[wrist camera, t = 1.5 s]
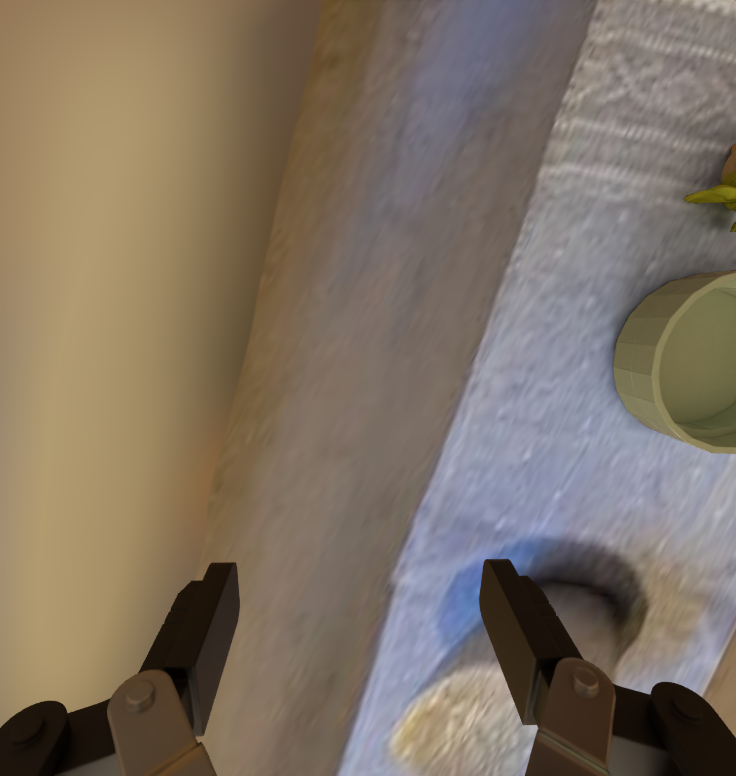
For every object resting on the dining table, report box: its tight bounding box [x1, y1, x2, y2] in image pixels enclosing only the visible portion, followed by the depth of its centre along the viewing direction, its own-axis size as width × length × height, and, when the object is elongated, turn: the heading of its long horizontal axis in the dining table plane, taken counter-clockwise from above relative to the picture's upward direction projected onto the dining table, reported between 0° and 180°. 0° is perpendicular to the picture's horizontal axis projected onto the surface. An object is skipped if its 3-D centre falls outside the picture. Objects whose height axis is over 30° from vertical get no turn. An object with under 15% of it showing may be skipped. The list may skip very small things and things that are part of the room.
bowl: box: [613, 270, 736, 454], centre depth 37 cm, size 15×15×6 cm
